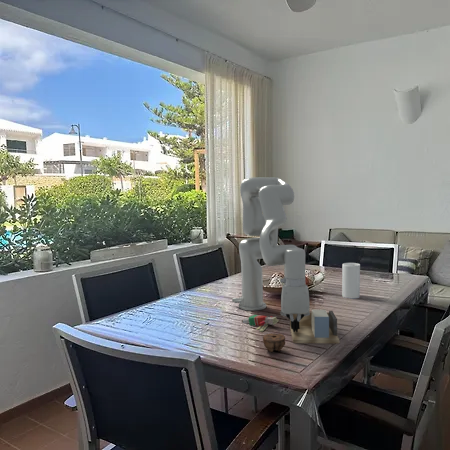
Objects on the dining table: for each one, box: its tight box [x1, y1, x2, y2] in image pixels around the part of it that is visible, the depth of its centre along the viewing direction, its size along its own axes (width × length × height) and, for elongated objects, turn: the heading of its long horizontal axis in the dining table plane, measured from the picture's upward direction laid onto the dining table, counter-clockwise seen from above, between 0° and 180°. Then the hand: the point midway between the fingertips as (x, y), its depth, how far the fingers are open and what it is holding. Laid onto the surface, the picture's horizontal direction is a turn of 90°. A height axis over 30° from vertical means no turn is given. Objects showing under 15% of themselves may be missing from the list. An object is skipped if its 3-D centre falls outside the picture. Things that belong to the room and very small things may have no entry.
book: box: [311, 309, 329, 338], centre depth 155 cm, size 5×9×8 cm, turn 175°
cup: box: [341, 262, 361, 300], centre depth 208 cm, size 8×8×16 cm
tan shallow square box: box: [289, 310, 340, 345], centre depth 157 cm, size 16×16×7 cm
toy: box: [241, 314, 280, 333], centre depth 171 cm, size 15×4×15 cm
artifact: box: [262, 333, 286, 353], centre depth 143 cm, size 8×8×5 cm
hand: (295, 330), depth 156 cm, fingers closed
